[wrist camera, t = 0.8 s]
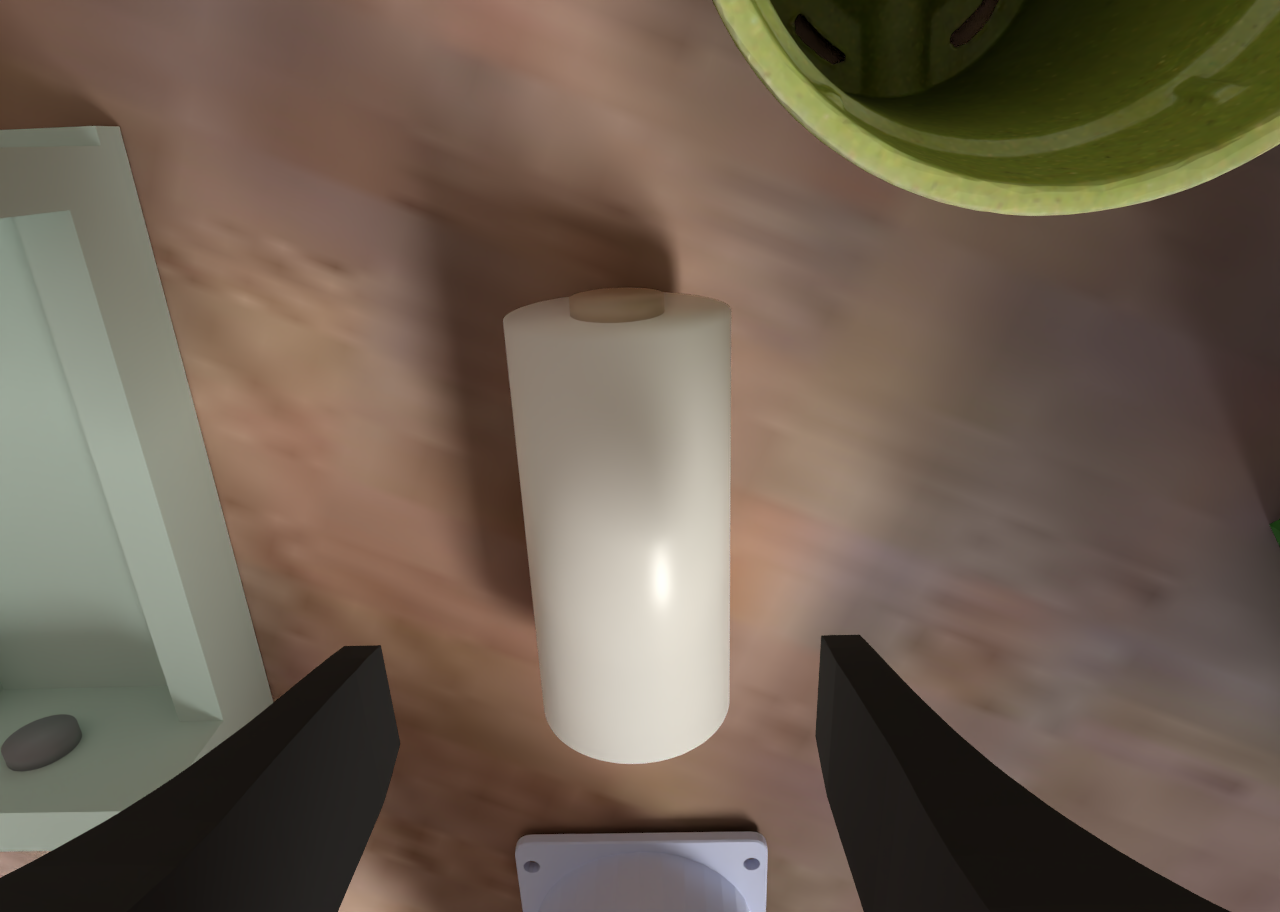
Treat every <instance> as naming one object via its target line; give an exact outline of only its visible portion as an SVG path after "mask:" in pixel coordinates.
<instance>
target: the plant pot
mask: <svg viewBox="0 0 1280 912" xmlns="http://www.w3.org/2000/svg"><path fill="white" fill-rule="evenodd" d="M712 1H713V3H714V5H715V7H716V9H717V11H718V13H719V15H720V17H721V19H722V22H723V23H724V25H725V27H726V29H727V30H728V32H729V34H730V36H731V37H732V39H733V41H734V43H735V44H736V46H737V48H738V49H739V51H740V52H741V53H742V55H743V56H744V58H745V59H746V61H747V62H748V64H749V65H750V66H751V68H752V69H753V71H754V72H755V74H756V75H757V76H758V78H759V79H760V80H761V81H762V83H763V84H764V85H765V86H766V87H767V89H768V90H769V91H770V92H771V93H772V95H773V96H774V97H775V98H776V99H777V100H778V101H779V103H780V104H781V105H782V106H783V107H784V108H785V109H786V110H787V111H788V112H789V113H790V114H791V115H792V116H793V117H794V119H796V120H797V121H798V122H799V123H800V124H801V125H802V126H804V127H805V128H806V129H807V130H808V131H809V132H810V133H812V134H813V135H814V136H815V137H816V138H817V139H818V140H820V141H821V142H822V143H824V144H825V145H827V146H828V147H830V148H831V149H832V150H834V151H835V152H837V153H838V154H839V155H841V156H842V157H844V158H845V159H847V160H848V161H850V162H851V163H853V164H855V165H856V166H858V167H860V168H861V169H863V170H864V171H866V172H868V173H870V174H872V175H874V176H876V177H878V178H880V179H882V180H884V181H886V182H888V183H890V184H892V185H894V186H897V187H899V188H902V189H904V190H907V191H909V192H912V193H915V194H917V195H920V196H923V197H926V198H929V199H932V200H935V201H938V202H942V203H946V204H950V205H954V206H958V207H962V208H967V209H972V210H976V211H986V212H993V213H1000V214H1008V215H1021V216H1047V215H1069V214H1079V213H1088V212H1095V211H1102V210H1107V209H1113V208H1119V207H1125V206H1130V205H1134V204H1139V203H1143V202H1148V201H1151V200H1155V199H1158V198H1162V197H1165V196H1168V195H1172V194H1175V193H1178V192H1181V191H1184V190H1187V189H1190V188H1192V187H1195V186H1197V185H1200V184H1202V183H1205V182H1207V181H1210V180H1212V179H1214V178H1216V177H1218V176H1220V175H1222V174H1224V173H1226V172H1228V171H1231V170H1233V169H1235V168H1237V167H1239V166H1241V165H1243V164H1245V163H1247V162H1248V161H1250V160H1252V159H1254V158H1256V157H1258V156H1260V155H1261V154H1263V153H1265V152H1267V151H1268V150H1270V149H1272V148H1274V147H1275V146H1277V145H1279V144H1280V0H999V1H998V3H997V5H996V7H995V9H994V11H993V13H992V15H991V17H990V19H989V20H988V21H987V23H986V24H985V25H984V27H983V28H982V29H981V30H980V31H979V32H978V33H977V34H976V35H975V36H974V37H973V38H972V39H971V40H970V41H969V42H968V43H967V44H963V45H961V46H958V47H954V46H953V44H951V43H950V37H951V34H952V33H953V32H954V31H955V30H956V29H958V28H959V27H960V26H961V25H962V24H963V23H964V22H965V21H966V20H967V19H968V18H969V17H970V16H971V15H972V14H973V13H974V12H975V11H976V9H977V8H978V7H979V6H980V5H981V4H982V1H983V0H712ZM799 14H801V15H804V16H805V18H806V19H807V20H808V22H809V23H810V24H811V25H812V26H813V27H814V28H815V29H816V30H817V31H818V32H819V33H820V34H821V35H822V36H823V37H824V38H825V39H826V40H828V41H829V42H830V43H831V44H832V45H833V46H835V47H837V48H838V49H839V50H841V51H842V52H843V53H844V54H845V56H846V57H845V60H844V61H843V62H839V63H836V64H831V63H830V62H828V61H826V60H825V59H823V58H821V57H820V56H818V55H817V53H816V52H815V51H814V50H812V49H811V48H810V47H809V46H807V45H806V44H805V43H803V41H802V40H801V38H800V37H799V36H798V35H796V33H795V31H796V27H795V24H794V21H795V19H796V18H797V16H798V15H799Z"/></svg>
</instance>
